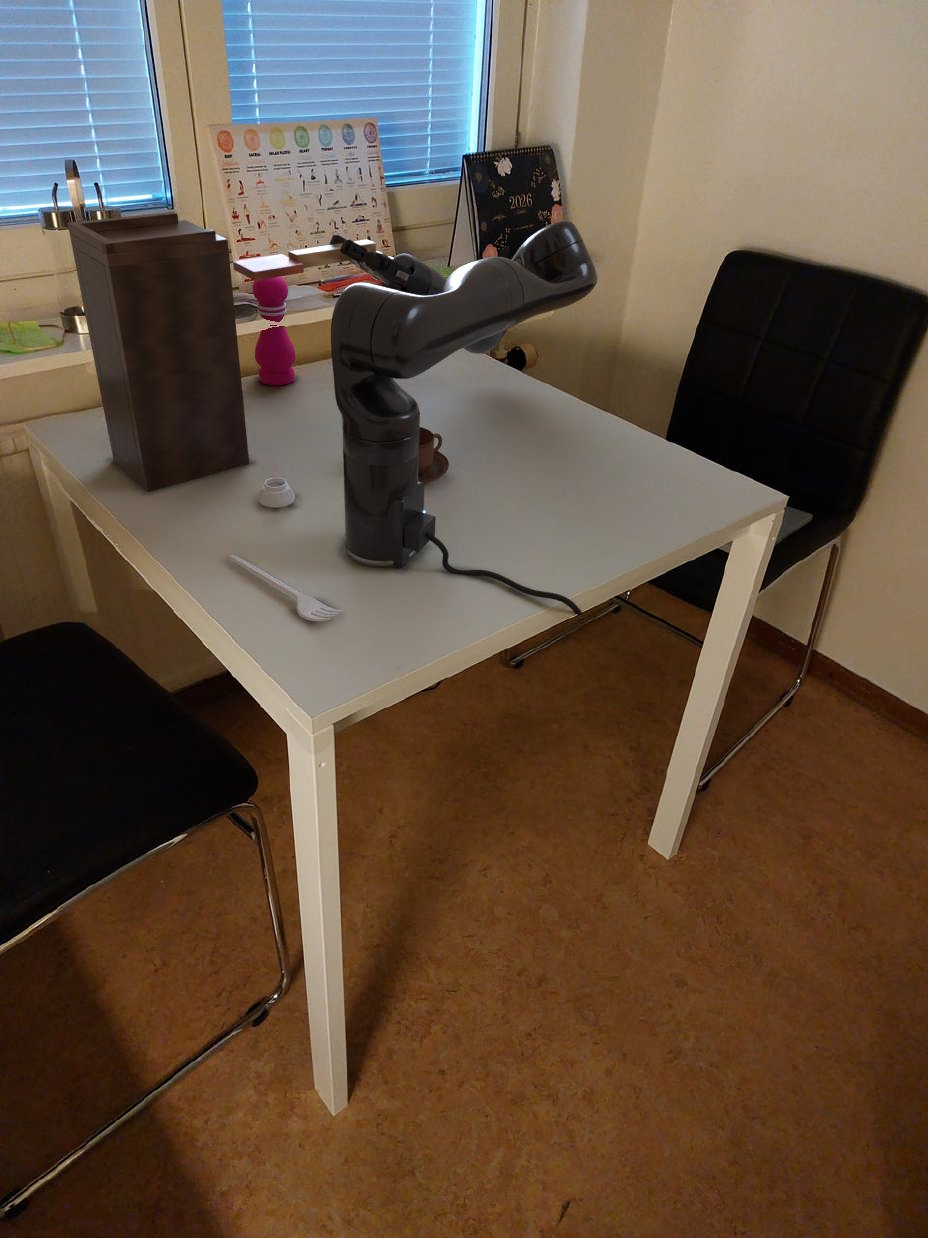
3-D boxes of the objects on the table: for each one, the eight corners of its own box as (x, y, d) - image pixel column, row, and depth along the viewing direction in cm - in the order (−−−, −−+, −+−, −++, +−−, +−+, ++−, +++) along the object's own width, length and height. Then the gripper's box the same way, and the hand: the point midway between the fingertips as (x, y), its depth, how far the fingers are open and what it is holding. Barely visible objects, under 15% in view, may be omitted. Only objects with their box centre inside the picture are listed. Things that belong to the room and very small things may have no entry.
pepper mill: (301, 373, 165) (295, 260, 153) (291, 388, 159) (284, 271, 148) (263, 370, 165) (253, 257, 154) (251, 384, 160) (241, 268, 148)
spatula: (360, 249, 140) (360, 236, 139) (383, 259, 136) (383, 245, 135) (233, 269, 128) (232, 255, 127) (254, 280, 125) (253, 265, 123)
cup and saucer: (398, 449, 141) (398, 412, 138) (463, 470, 137) (465, 432, 133) (352, 477, 133) (351, 438, 129) (420, 500, 128) (421, 461, 125)
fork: (242, 555, 114) (240, 542, 113) (348, 621, 104) (348, 608, 103) (220, 565, 112) (219, 552, 111) (327, 633, 102) (326, 620, 101)
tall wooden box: (211, 435, 142) (184, 210, 123) (249, 463, 135) (226, 229, 115) (113, 460, 133) (67, 222, 114) (148, 491, 126) (105, 243, 107)
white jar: (300, 496, 127) (269, 490, 128) (299, 478, 125) (267, 471, 127) (284, 512, 123) (252, 505, 124) (283, 493, 122) (250, 486, 123)
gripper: (400, 254, 150) (322, 208, 137) (453, 275, 142) (375, 227, 128) (382, 297, 152) (303, 255, 138) (433, 320, 143) (354, 278, 130)
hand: (338, 242), depth 133 cm, fingers closed on spatula, 2 cm apart
